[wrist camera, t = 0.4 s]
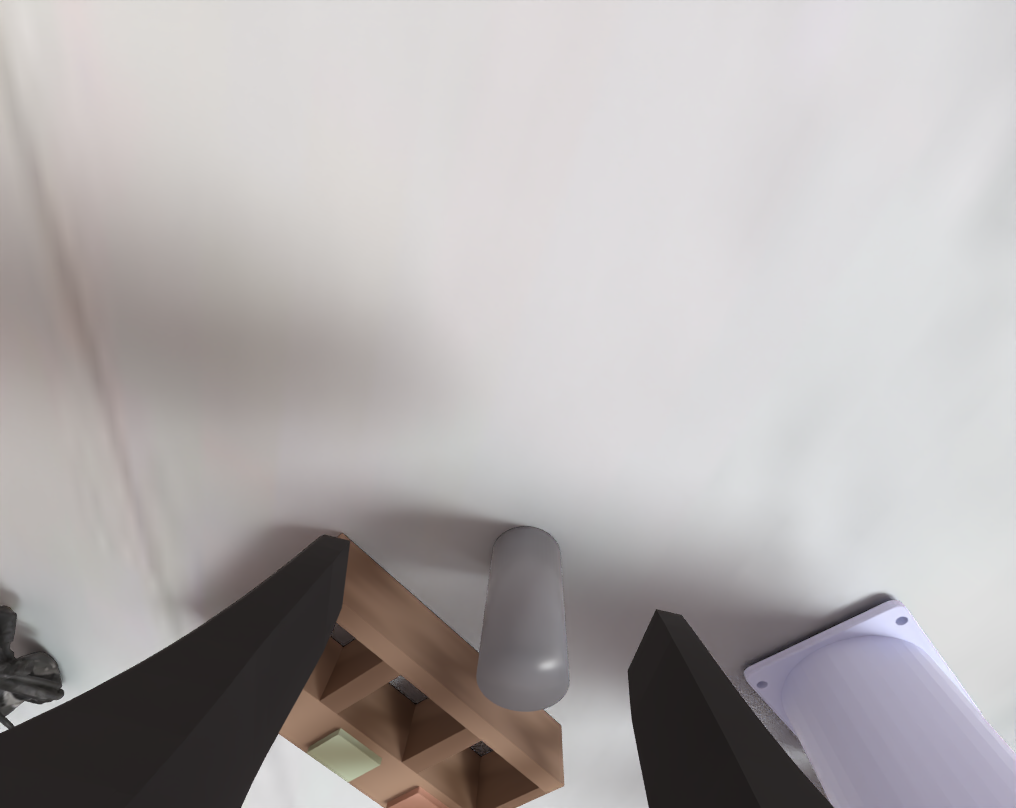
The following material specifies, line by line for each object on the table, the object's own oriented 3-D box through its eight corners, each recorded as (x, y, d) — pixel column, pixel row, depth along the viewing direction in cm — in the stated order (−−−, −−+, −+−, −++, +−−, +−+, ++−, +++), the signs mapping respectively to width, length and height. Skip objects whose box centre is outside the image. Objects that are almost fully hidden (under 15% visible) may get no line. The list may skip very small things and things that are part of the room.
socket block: (561, 725, 27) (564, 792, 23) (444, 783, 29) (434, 850, 26) (342, 532, 22) (311, 583, 19) (228, 620, 25) (185, 677, 22)
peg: (574, 559, 22) (588, 687, 16) (521, 592, 23) (516, 723, 17) (531, 514, 21) (528, 631, 15) (478, 549, 22) (457, 672, 16)
